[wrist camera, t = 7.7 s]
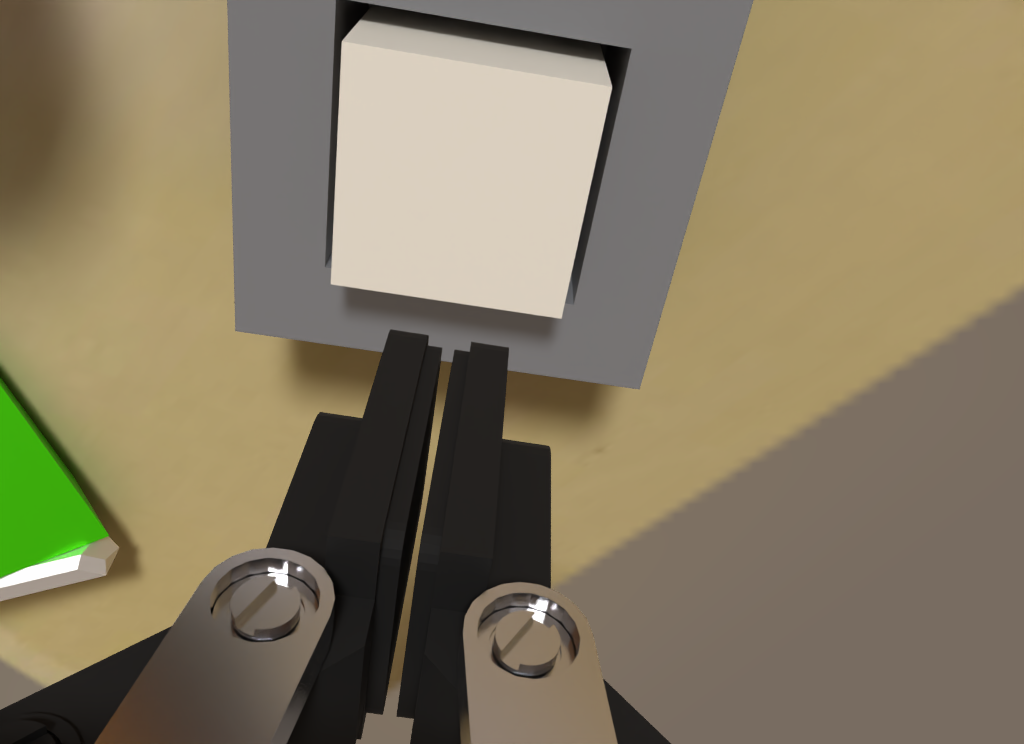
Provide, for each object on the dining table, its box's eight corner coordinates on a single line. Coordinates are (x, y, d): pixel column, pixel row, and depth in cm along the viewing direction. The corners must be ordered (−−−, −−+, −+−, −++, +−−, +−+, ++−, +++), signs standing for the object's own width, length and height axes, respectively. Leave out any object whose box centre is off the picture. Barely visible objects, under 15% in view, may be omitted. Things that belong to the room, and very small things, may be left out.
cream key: (595, 29, 24) (612, 86, 19) (556, 225, 27) (561, 318, 22) (382, -8, 23) (341, 41, 18) (369, 196, 27) (330, 284, 22)
